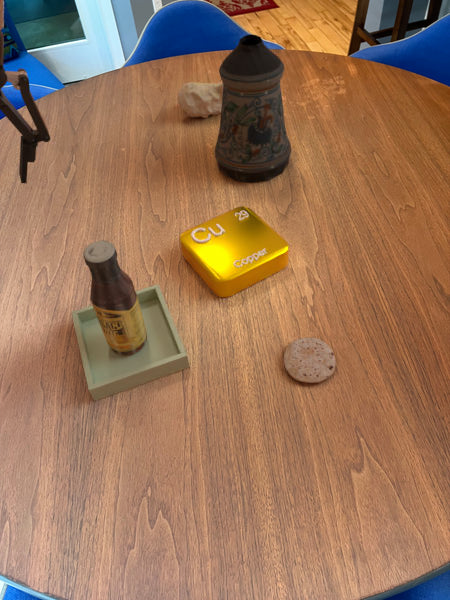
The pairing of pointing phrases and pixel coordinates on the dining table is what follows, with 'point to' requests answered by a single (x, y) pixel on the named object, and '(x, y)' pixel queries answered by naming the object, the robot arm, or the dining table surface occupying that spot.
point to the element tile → (234, 251)
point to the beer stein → (252, 114)
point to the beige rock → (201, 99)
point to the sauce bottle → (114, 300)
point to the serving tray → (139, 366)
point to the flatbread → (309, 360)
